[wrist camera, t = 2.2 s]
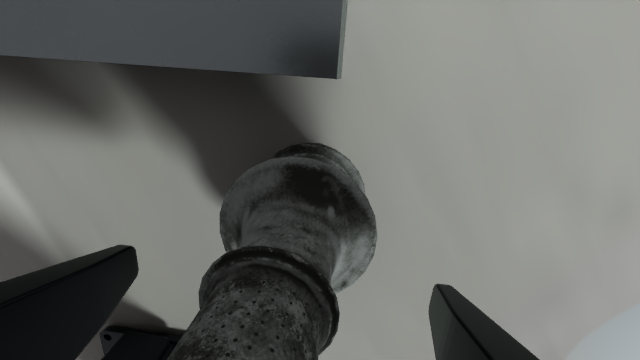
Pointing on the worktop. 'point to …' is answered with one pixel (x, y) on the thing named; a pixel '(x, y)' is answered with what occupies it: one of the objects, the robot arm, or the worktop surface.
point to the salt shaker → (283, 259)
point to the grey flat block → (182, 33)
